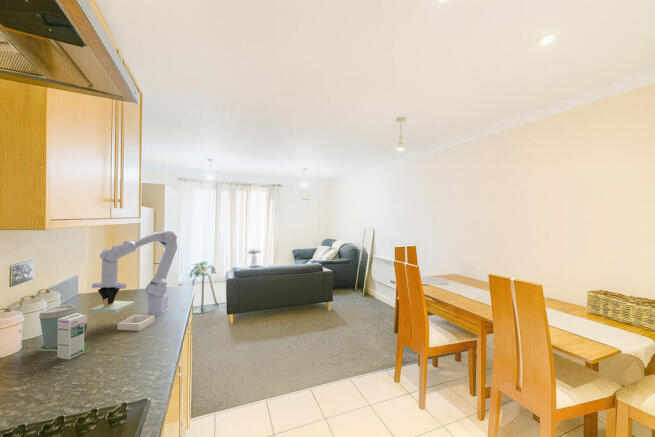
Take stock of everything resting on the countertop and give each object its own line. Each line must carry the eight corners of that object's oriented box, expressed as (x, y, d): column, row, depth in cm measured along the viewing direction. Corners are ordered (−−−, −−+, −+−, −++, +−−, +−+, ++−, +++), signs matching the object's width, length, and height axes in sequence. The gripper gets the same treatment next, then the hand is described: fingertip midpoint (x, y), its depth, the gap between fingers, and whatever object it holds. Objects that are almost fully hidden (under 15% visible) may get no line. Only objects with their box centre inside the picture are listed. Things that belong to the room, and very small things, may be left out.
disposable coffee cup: (28, 352, 97) (29, 312, 97) (58, 338, 107) (59, 302, 107) (56, 353, 97) (57, 313, 96) (84, 339, 107) (85, 303, 107)
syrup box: (69, 360, 92) (70, 319, 92) (56, 357, 93) (57, 318, 93) (86, 352, 98) (87, 314, 98) (74, 349, 99) (75, 312, 99)
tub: (134, 321, 126) (134, 314, 126) (154, 322, 125) (154, 315, 125) (117, 330, 116) (117, 323, 116) (139, 331, 115) (139, 324, 115)
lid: (112, 303, 127) (112, 294, 126) (135, 304, 126) (135, 295, 126) (90, 312, 115) (91, 301, 115) (116, 313, 115) (116, 302, 115)
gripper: (86, 275, 117) (85, 305, 117) (117, 276, 117) (116, 306, 117) (100, 272, 124) (99, 300, 124) (130, 273, 124) (129, 301, 124)
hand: (108, 303), depth 121 cm, fingers closed on lid
